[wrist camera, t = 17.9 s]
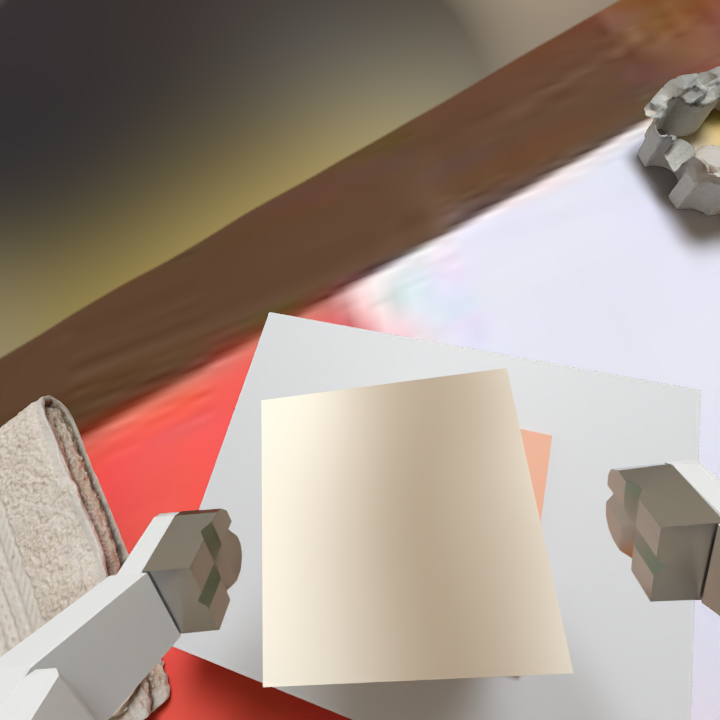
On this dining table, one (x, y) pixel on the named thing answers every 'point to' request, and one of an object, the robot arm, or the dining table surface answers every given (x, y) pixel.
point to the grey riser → (556, 512)
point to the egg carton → (682, 118)
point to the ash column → (403, 537)
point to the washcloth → (56, 534)
